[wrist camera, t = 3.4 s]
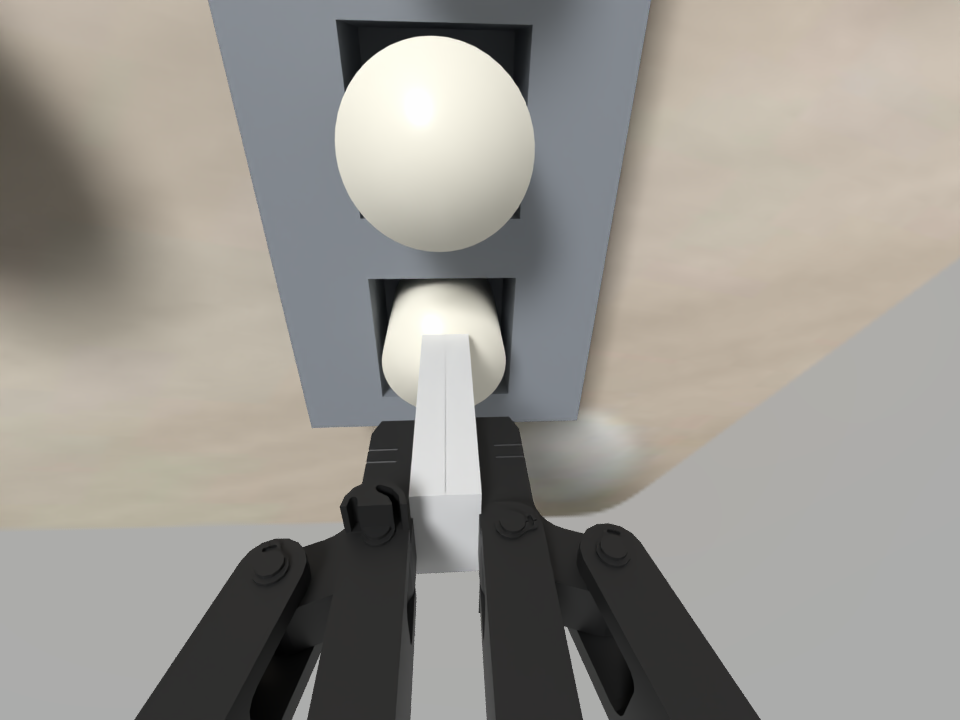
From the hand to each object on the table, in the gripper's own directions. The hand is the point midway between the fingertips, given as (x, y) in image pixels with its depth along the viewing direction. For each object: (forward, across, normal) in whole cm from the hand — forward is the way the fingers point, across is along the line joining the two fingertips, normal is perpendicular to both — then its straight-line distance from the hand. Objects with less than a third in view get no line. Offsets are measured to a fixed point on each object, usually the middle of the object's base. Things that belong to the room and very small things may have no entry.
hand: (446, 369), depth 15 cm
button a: (+5, 0, 0) cm, 5 cm away
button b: (+2, 0, +7) cm, 7 cm away
